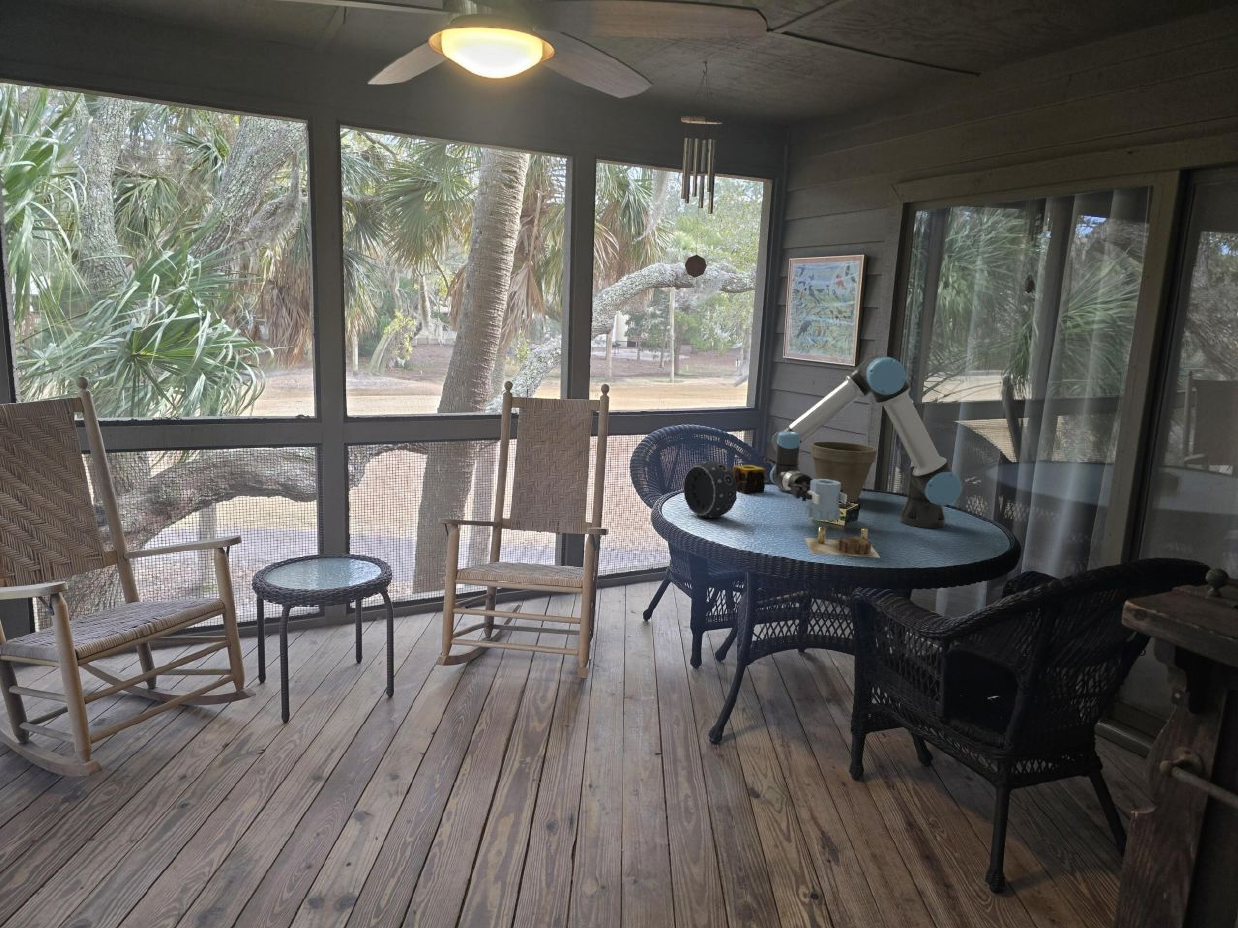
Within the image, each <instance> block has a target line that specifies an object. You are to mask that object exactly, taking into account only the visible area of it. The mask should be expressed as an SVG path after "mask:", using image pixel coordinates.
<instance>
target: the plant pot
mask: <svg viewBox="0 0 1238 928" xmlns="http://www.w3.org/2000/svg"><path fill="white" fill-rule="evenodd" d="M810 445H811V447H810V448H811V449H810V455H811V457H812V459H813V464H814V466H813V467H814V472H815V476H816V477H815V479H828V480H835V481H838V482H840V483H841V488H840V489H842V490H843V493H844V494H846V495H847V502H853V503H857V502H858V500H859V498H860V496H861V493H862V491H863V488H864V485H865V483H866V480H867V477H868V475H869V473H870V470H871V467H872V465H873V463H875V461H876V458H877V451H878V450H877V448H876V447H873V446H870V445H866V444H860V443H854V442H844V441H814V442H812V443H810Z"/></svg>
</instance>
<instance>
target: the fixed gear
mask: <svg viewBox="0 0 1238 928" xmlns="http://www.w3.org/2000/svg"><path fill="white" fill-rule="evenodd" d="M838 540H839V546H838V549H839V550H842V551H841V552H843V553H850V554H852V555H854V554H859V555H864V554H870V551H871V545H872V541H869V540H868V539H867V540H866V539H860V537H859V536H857V535H855V536H845V537H840V538H839V539H838Z"/></svg>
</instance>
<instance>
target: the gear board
mask: <svg viewBox="0 0 1238 928" xmlns="http://www.w3.org/2000/svg"><path fill="white" fill-rule="evenodd" d="M804 540H805V542H806V545H807V546H808V549H809V551H810V554H816V555H818V554H819V555H830V556H831V555H832V556H835V555H836V556H847V557H848V556H849V557H861V558H862V557H863V558H864V557H866V558H879V559H881V557H880V555H879V554H878V552H877V551H876V549H875V548H874V546H873V545H872V544H871V551H870V554H864V555H859V554H854V555H852V554H850V553H843V552H841V551H842V550H839V549H838V546H839V540H840V539H831V538H830V539H829V538H825V543H824V544H819V543H818V538H813V537H811V538H810V537H804Z"/></svg>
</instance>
